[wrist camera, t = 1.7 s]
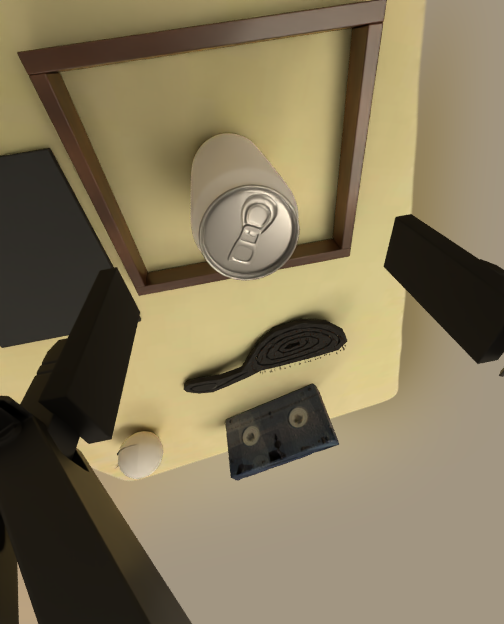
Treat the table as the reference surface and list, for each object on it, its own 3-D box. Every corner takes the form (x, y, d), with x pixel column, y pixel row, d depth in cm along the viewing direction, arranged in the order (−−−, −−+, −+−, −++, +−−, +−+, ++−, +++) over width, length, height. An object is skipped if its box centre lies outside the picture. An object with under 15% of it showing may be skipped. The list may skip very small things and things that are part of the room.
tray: (34, 53, 18) (16, 52, 16) (368, 4, 19) (387, -2, 17) (142, 281, 30) (138, 296, 28) (340, 244, 31) (349, 256, 29)
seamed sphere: (148, 418, 47) (142, 464, 42) (172, 434, 52) (170, 476, 47) (99, 437, 49) (88, 483, 43) (127, 450, 54) (120, 493, 48)
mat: (-173, 183, 20) (-180, 186, 20) (50, 147, 21) (47, 149, 20) (4, 344, 32) (2, 348, 32) (141, 318, 33) (140, 321, 33)
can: (277, 149, 23) (329, 200, 15) (250, 220, 27) (278, 295, 18) (202, 117, 21) (209, 154, 12) (183, 199, 25) (178, 273, 16)
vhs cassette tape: (230, 424, 54) (236, 481, 46) (223, 419, 52) (228, 477, 44) (319, 390, 50) (341, 445, 43) (314, 382, 48) (336, 439, 41)
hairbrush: (167, 390, 38) (342, 323, 33) (169, 368, 41) (332, 303, 36) (199, 413, 44) (354, 359, 38) (200, 392, 46) (344, 339, 41)
